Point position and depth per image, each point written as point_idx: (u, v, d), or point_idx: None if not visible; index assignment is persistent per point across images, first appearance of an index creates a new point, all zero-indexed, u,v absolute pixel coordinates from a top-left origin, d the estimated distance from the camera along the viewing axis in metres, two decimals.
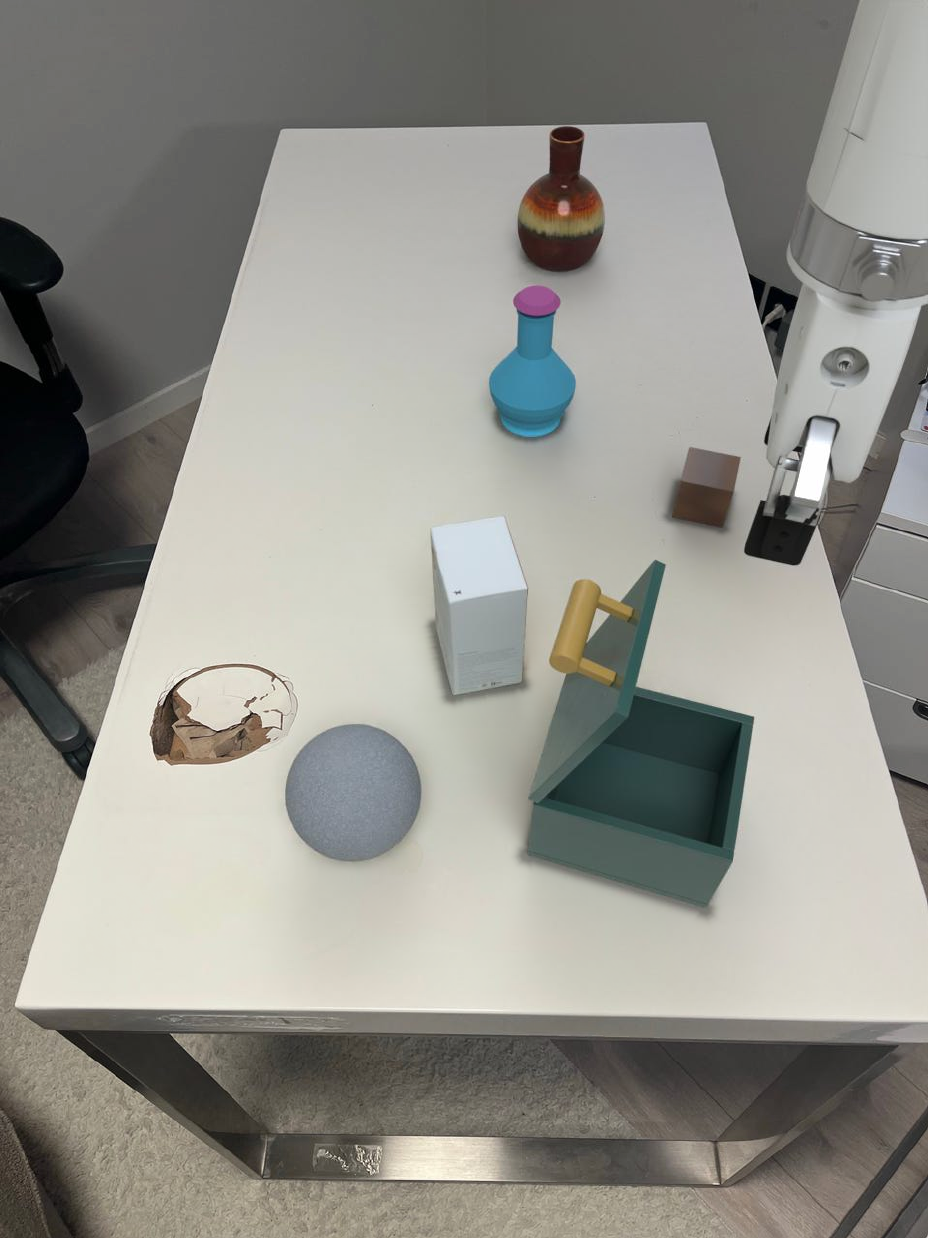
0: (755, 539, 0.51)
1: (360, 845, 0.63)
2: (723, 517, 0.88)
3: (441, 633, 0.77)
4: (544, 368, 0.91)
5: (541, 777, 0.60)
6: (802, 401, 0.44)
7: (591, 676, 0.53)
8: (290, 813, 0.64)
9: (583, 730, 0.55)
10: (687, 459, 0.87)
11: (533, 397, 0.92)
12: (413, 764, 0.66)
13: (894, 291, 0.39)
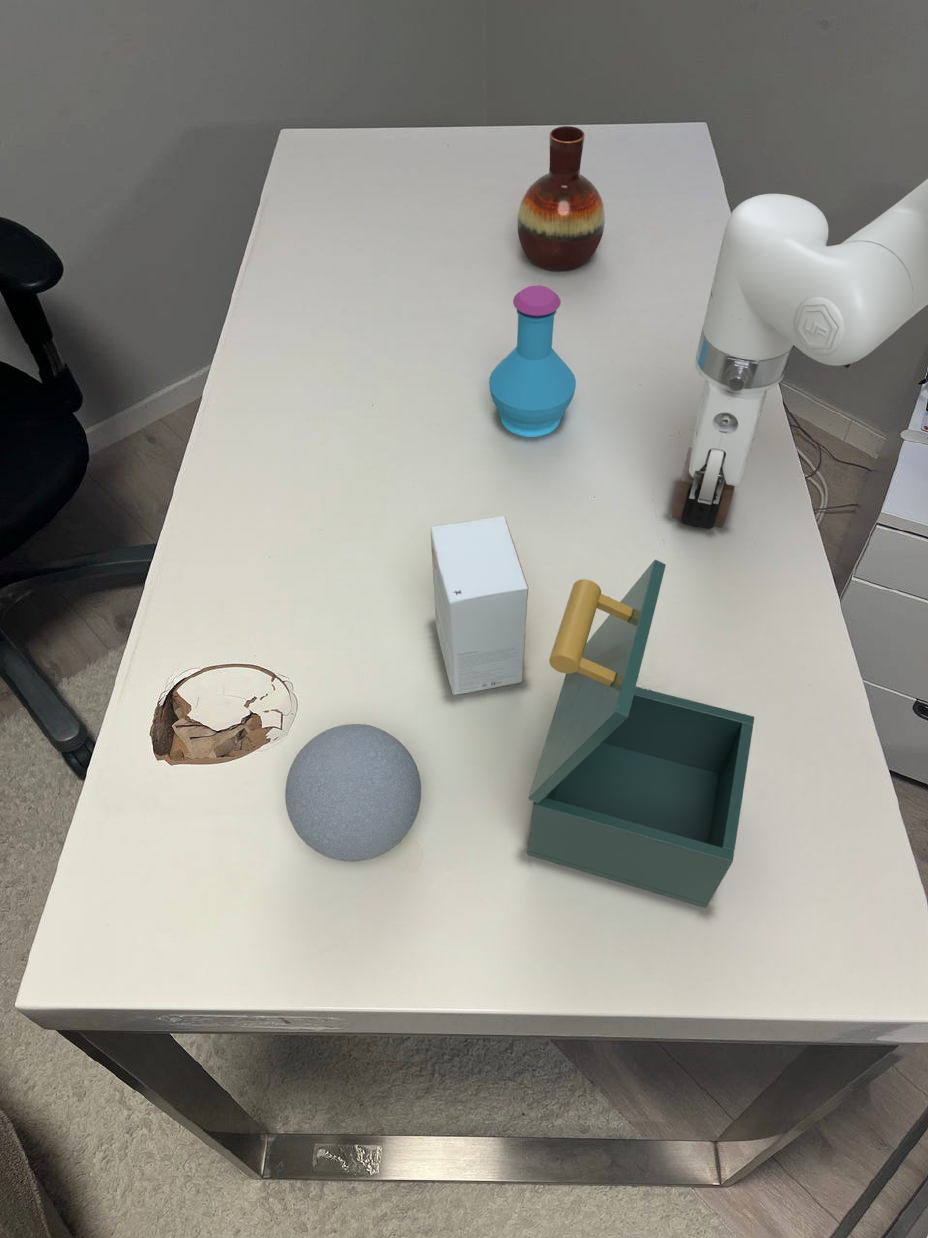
0: (686, 512, 0.88)
1: (360, 845, 0.63)
2: (723, 517, 0.88)
3: (441, 633, 0.77)
4: (544, 368, 0.91)
5: (541, 777, 0.60)
6: (704, 440, 0.78)
7: (591, 676, 0.53)
8: (290, 813, 0.64)
9: (583, 730, 0.55)
10: (687, 459, 0.87)
11: (533, 397, 0.92)
12: (413, 764, 0.66)
13: (748, 384, 0.74)
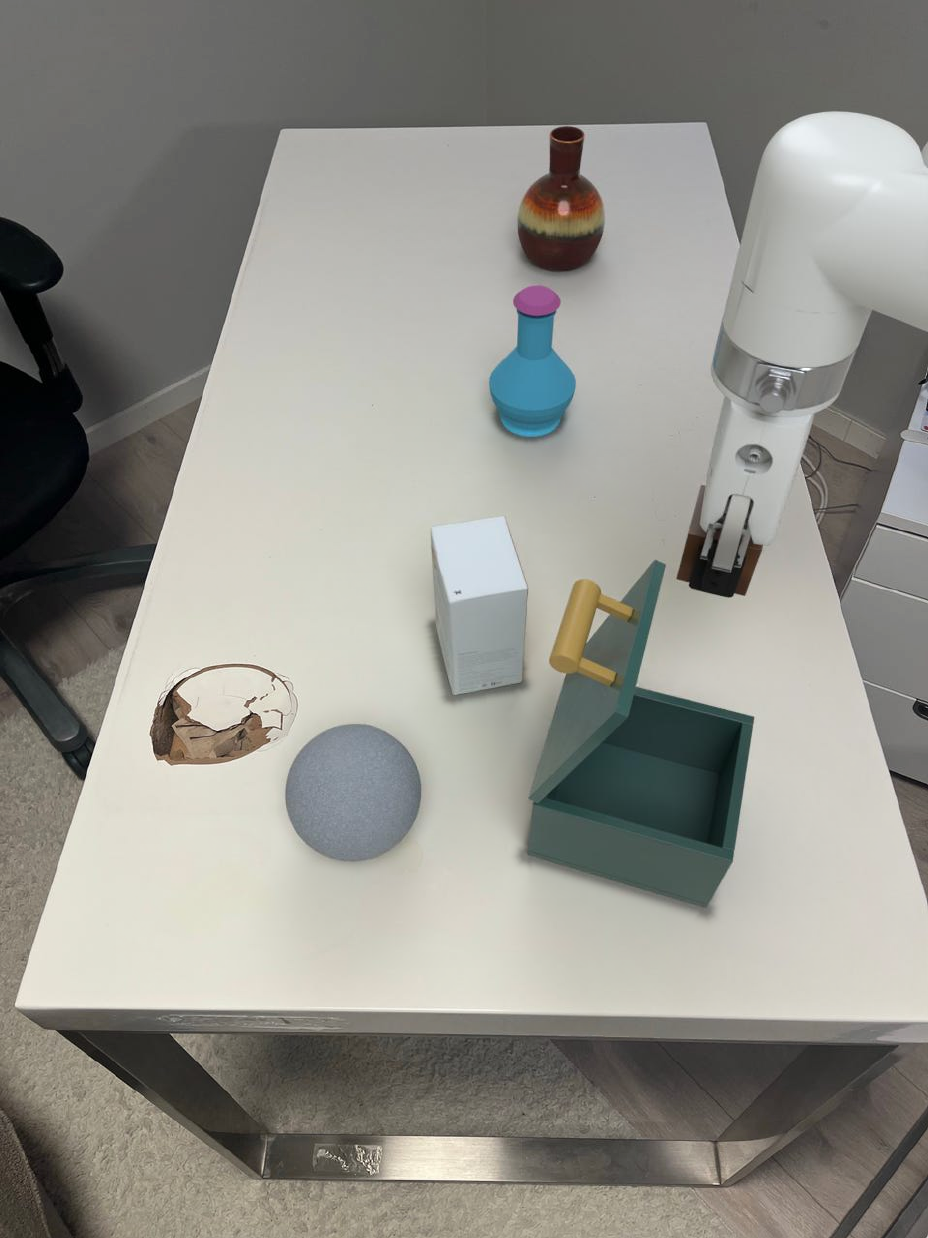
0: (696, 576, 0.64)
1: (360, 845, 0.63)
2: (747, 583, 0.63)
3: (441, 633, 0.77)
4: (544, 368, 0.91)
5: (541, 777, 0.60)
6: (723, 483, 0.54)
7: (591, 676, 0.53)
8: (290, 813, 0.64)
9: (583, 730, 0.55)
10: (698, 502, 0.63)
11: (533, 397, 0.92)
12: (413, 764, 0.66)
13: (788, 404, 0.50)
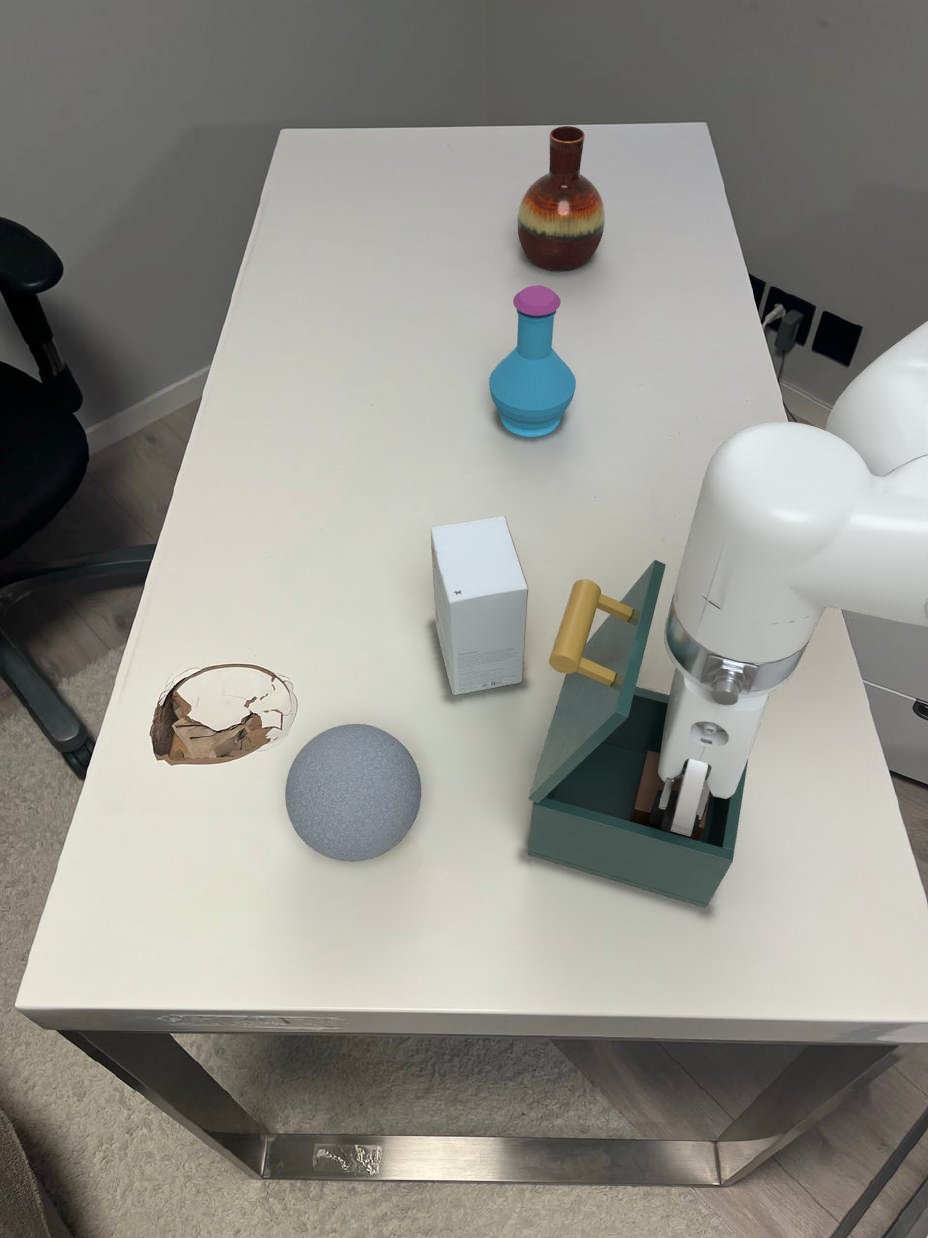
0: (656, 815, 0.61)
1: (360, 845, 0.63)
2: None
3: (441, 633, 0.77)
4: (544, 368, 0.91)
5: (541, 777, 0.60)
6: (679, 748, 0.52)
7: (591, 676, 0.53)
8: (290, 813, 0.64)
9: (583, 730, 0.55)
10: (644, 771, 0.66)
11: (533, 397, 0.92)
12: (413, 764, 0.66)
13: (743, 689, 0.48)
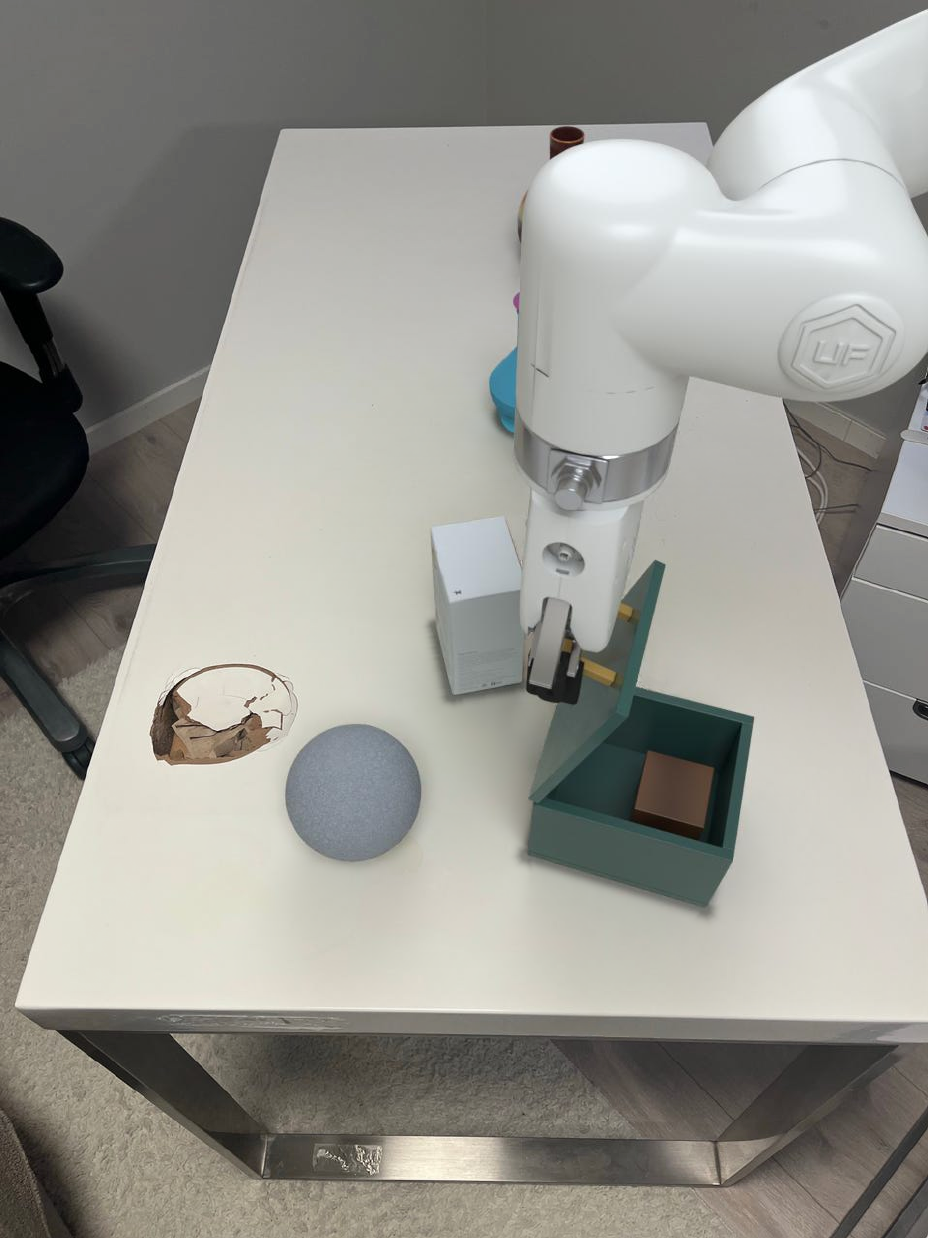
0: None
1: (360, 845, 0.63)
2: None
3: (441, 633, 0.77)
4: None
5: (541, 777, 0.60)
6: (534, 584, 0.45)
7: (591, 676, 0.53)
8: (290, 813, 0.64)
9: (583, 730, 0.55)
10: (644, 771, 0.66)
11: None
12: (413, 764, 0.66)
13: (595, 497, 0.40)
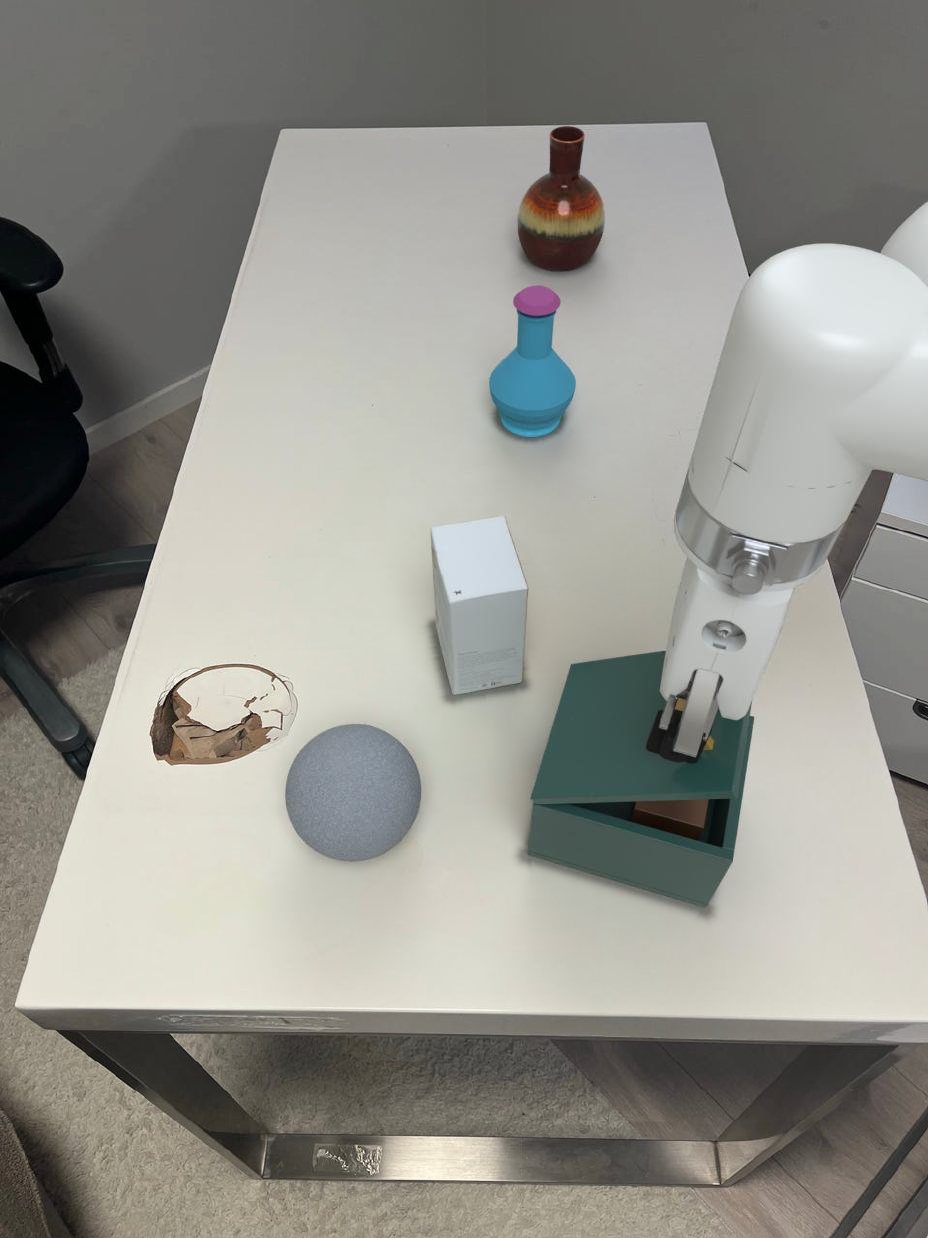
0: (655, 740, 0.54)
1: (360, 845, 0.63)
2: None
3: (441, 633, 0.77)
4: (544, 368, 0.91)
5: (558, 786, 0.60)
6: (687, 656, 0.45)
7: None
8: (290, 813, 0.64)
9: (653, 776, 0.56)
10: None
11: (533, 397, 0.92)
12: (413, 764, 0.66)
13: (766, 579, 0.41)
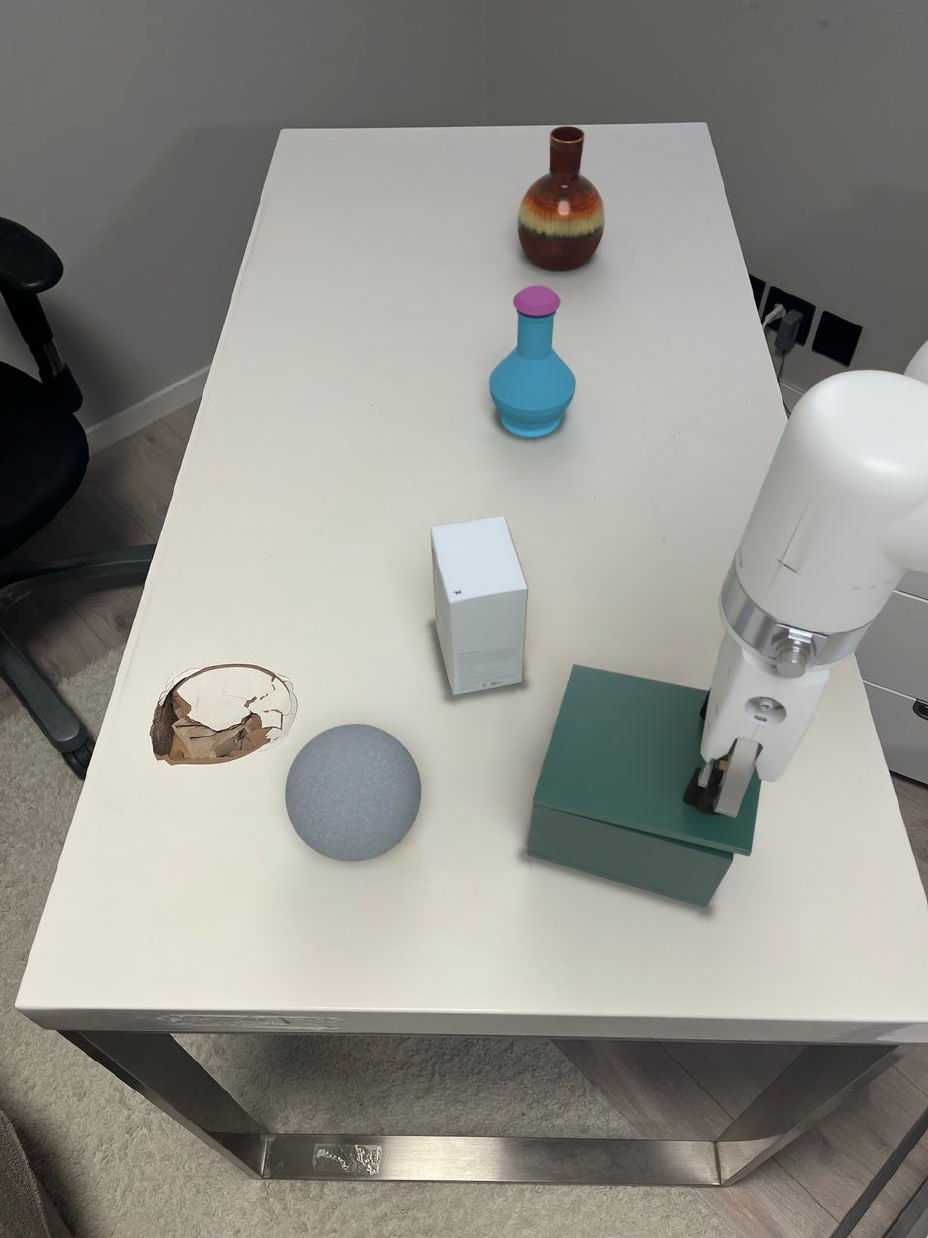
0: (692, 794, 0.58)
1: (360, 845, 0.63)
2: None
3: (441, 633, 0.77)
4: (544, 368, 0.91)
5: (565, 794, 0.61)
6: (730, 726, 0.49)
7: None
8: (290, 813, 0.64)
9: (670, 814, 0.59)
10: None
11: (533, 397, 0.92)
12: (413, 764, 0.66)
13: (807, 662, 0.45)
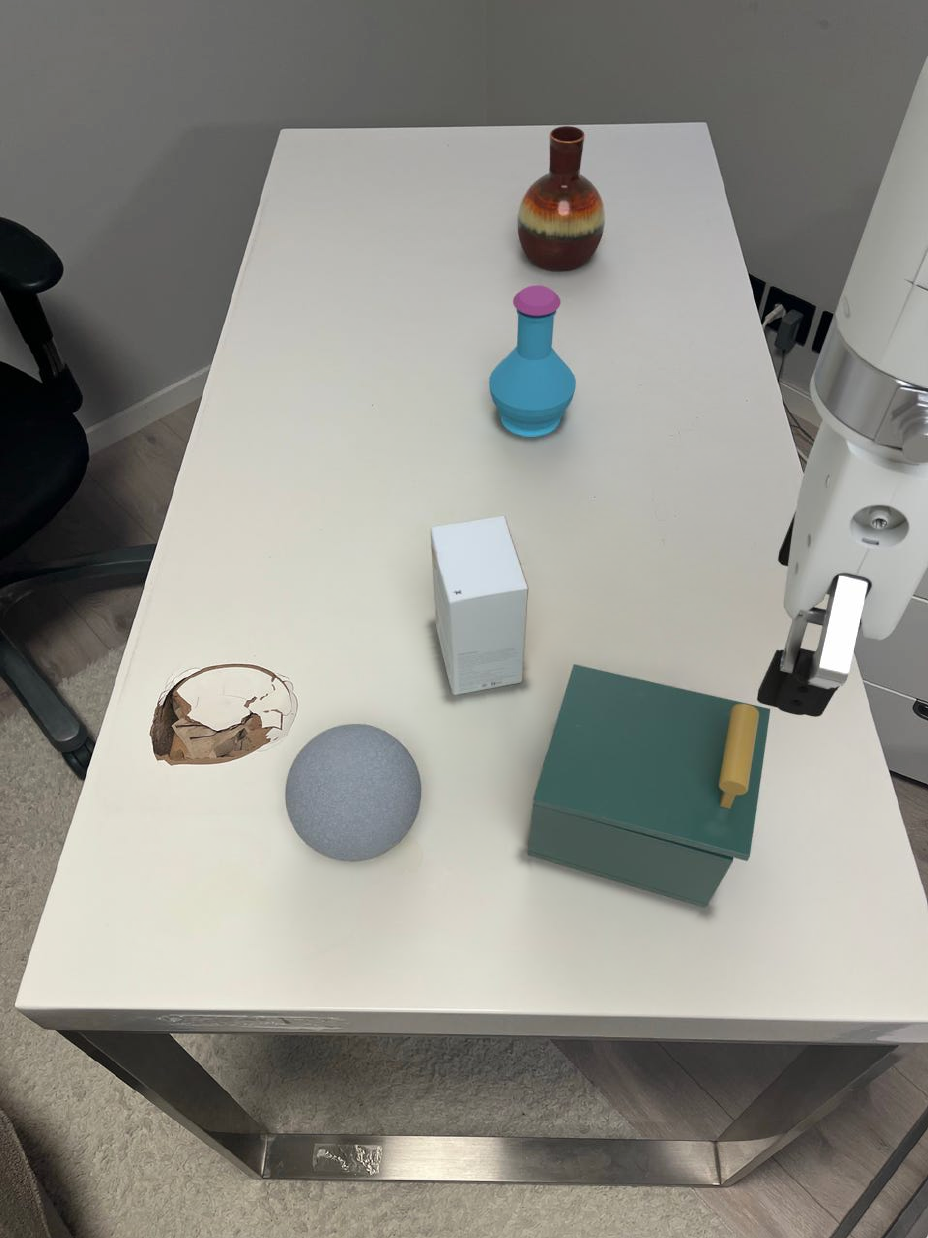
0: (770, 689, 0.45)
1: (360, 845, 0.63)
2: None
3: (441, 633, 0.77)
4: (544, 368, 0.91)
5: (565, 795, 0.61)
6: (828, 557, 0.37)
7: (726, 798, 0.59)
8: (290, 813, 0.64)
9: (670, 817, 0.60)
10: None
11: (533, 397, 0.92)
12: (413, 764, 0.66)
13: None
